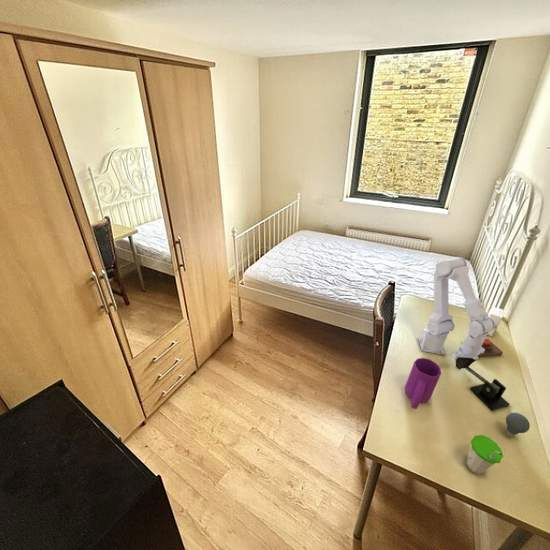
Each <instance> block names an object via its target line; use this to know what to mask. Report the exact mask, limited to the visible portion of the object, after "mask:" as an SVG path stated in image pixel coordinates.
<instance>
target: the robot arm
mask: <svg viewBox="0 0 550 550" xmlns="http://www.w3.org/2000/svg"><path fill="white" fill-rule="evenodd" d="M469 271H470V267H469V266H468V263H467V261H466V259H465V258H464V257H462V256H456V257H453V258H447V259H442V260H439V261H438V262H437V263H435V270H434V272H433V313H432V315H430V317H429V318H428V320H429V321H428V322H427V329H426V328H425V329H422V330H421V333H420V337H419V338H418V343H419V345H420V349H421V351H422V352H426V353H432V354H438V355H445V352H444V348H443V347H444V344H445V343H446V340H447V338H448V336H449V334H450V332H452V331H454V330H455V323H454V320H453V316H452V315H451V314H450V313H449V280H451V281H454V282H456V283H457V286H458V287H459V289H460V291H461V293H462V296H463V298H464V300H465V301H464V303H463V306H464V309H465V311H466V313H467V316H468V318H469V322H468V329H469V330H468V332H467V334H466V337H465V339H464V341H463V343H462V345H461V347H459V348H458V349H457V350H456V351H454V352H452V353H451V358H453V359H454V361H455V365H454V366H455V368H456V369H457V370H458V371H461V370H462V369H463V368H462V367H463V366H464V365H465V364H466V363H467V366H468V367H469V368H470V367H471V365H472V364H474V363H475V362H476V361H478V360H480V359H481V358H480V357H479V356H478V355H479V354H480V353H484V351H485V349H484V348H482V347H481V346H482V344H483V342H484V340H485V339H487V336H488V335H487V334H488V332H489V331H492V330H493V329H494V327H495V324H494V321H493V320H492V319H491V318H490V317H489V316H488V313H487V312H486V310H485V308H484V305H485V304H484V303H483V302H482V300H481V299H479V298H478V297H476V294H475V292H474V288H473V285H472V282H471V279H470V276H469Z"/></svg>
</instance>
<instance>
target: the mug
mask: <svg viewBox="0 0 550 550" xmlns="http://www.w3.org/2000/svg"><path fill="white" fill-rule="evenodd" d="M441 375H442V368H441V367H440V365H439V364H438V363H437V362H435V361H433V360H432V359H430V358H427V357H420V358H416V359H415V361H413V365H412V367H411V369H410V373H409V375H408V377H407V380H406V383H405V386H404V393H405V395H406V396H407V397H408V399H410V400H411V403H410V407H411V409H413V410H416V409H419V405H420V404H427V403H428V402H429V401H430V400H431V398H432V396H433V394H434V391H435V389H436V386H437V384H438V381H439V380H440V377H441Z"/></svg>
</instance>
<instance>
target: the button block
mask: <svg viewBox="0 0 550 550" xmlns="http://www.w3.org/2000/svg"><path fill="white" fill-rule="evenodd" d="M487 339H488V340H489V341H490V342H491V344H490V346H489V347H487V346H484V345H482V346H481V347H482V348H484V349H485V351H484V353H480V354H479V355H478V356H479V357H480V359H481V358H491V357H492V358H494V357H501V356H502V355H503V354H504V352H503V351H502V350H501V349H500V348H499V347H498V346H497V345H496V344H495V343H494V342H493V341H492V340H491V339H489V338H487Z"/></svg>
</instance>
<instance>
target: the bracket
mask: <svg viewBox="0 0 550 550" xmlns="http://www.w3.org/2000/svg"><path fill="white" fill-rule="evenodd" d="M489 382H490V381H489V380H487V381H486V382H485V383H484V382H483V383H481V384H478V385H474V386H470V387H469V390H470V391H471V393H473V394H474V396H476V398H478V399H479V401H480V402H482V403H483V404H484V405H485V406H486V407H487V408H488V409H489V410H490V411H491V412H494V411H497V410H501V409H504V408H508V407H509V406H510V403H509V402H508V400H506V399H505V398H504V397H503V395H504V393H505V392H506V390H507V387H506V386H505V385H504V384H502V382H500V381H499V380H498V379H497V378H493V380H492V382H490V383H493V382H494V383H495V384H497V385H498V386H499V387H501V388H500V391H499V393H497V391H498V390H497V389H496V388H495V387H494V386H493V385H491V384H490V383H489Z"/></svg>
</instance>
